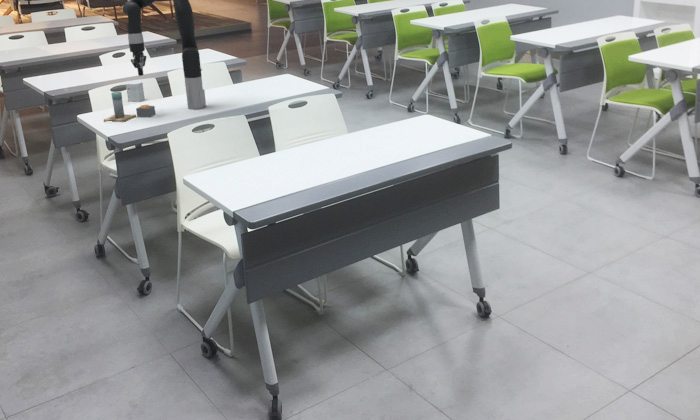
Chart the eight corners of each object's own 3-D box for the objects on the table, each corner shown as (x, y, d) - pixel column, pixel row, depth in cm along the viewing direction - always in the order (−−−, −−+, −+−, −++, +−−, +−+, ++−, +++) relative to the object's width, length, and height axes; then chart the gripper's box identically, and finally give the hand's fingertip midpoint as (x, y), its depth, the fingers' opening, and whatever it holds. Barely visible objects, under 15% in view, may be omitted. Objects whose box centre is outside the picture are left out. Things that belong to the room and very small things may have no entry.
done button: (151, 110, 393) (150, 104, 392) (147, 112, 389) (146, 106, 388) (144, 110, 394) (143, 104, 393) (140, 112, 390) (139, 106, 389)
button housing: (155, 114, 395) (154, 105, 393) (149, 117, 389) (148, 108, 387) (143, 113, 397) (142, 105, 395) (137, 116, 390) (136, 108, 389)
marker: (124, 115, 390) (120, 91, 385) (125, 117, 385) (121, 93, 381) (114, 116, 388) (110, 92, 383) (115, 118, 384) (111, 94, 379)
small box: (145, 99, 432) (142, 82, 429) (139, 101, 427) (137, 83, 424) (133, 99, 435) (131, 81, 431) (128, 101, 430) (125, 83, 426)
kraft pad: (136, 116, 391) (135, 114, 391) (124, 121, 380) (124, 119, 380) (115, 116, 394) (115, 114, 393) (103, 121, 383) (103, 119, 382)
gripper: (136, 43, 372) (141, 77, 378) (148, 40, 384) (153, 73, 390) (123, 44, 374) (128, 77, 380) (135, 40, 386) (140, 73, 392)
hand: (141, 75), depth 385 cm, fingers closed
